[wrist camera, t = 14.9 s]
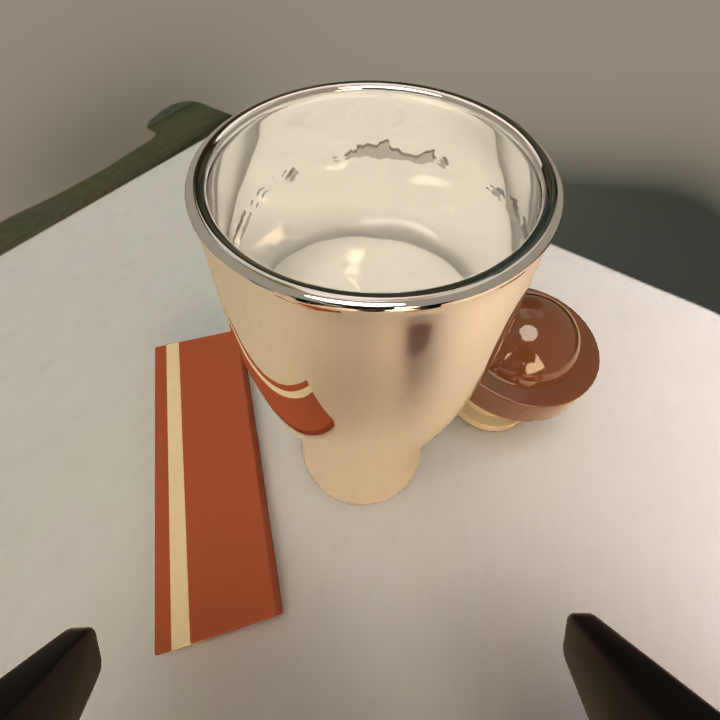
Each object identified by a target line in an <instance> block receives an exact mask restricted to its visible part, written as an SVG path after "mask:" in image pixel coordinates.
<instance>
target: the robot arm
mask: <svg viewBox="0 0 720 720" xmlns="http://www.w3.org/2000/svg"><path fill="white" fill-rule="evenodd" d="M563 651H564V656H565V660H566V663H567V665H568V668H569V670H570V673H571V676H572V678H573V681H574V683H575V686H576V688H577V691H578V693H579V696H580V698H581V701H582V703H583V706H584V708H585V711H586V713H587V716H588V718H589V720H720V712H719V711H718V710H716V709H715V708H714V707H713V706H711V705H710V704H709V703H707V702H706V701H705V700H703V699H702V698H701V697H700V696H698V695H697V694H696V693H694V692H693V691H692V690H691V689H689V688H688V687H687V686H685V685H684V684H683V683H682V682H680V681H679V680H678V679H676V678H675V677H674V676H672V675H671V674H670V673H669V672H667V671H666V670H665V669H663V668H662V667H661V666H660V665H658V664H657V663H656V662H654V661H653V660H652V659H650V658H649V657H648V656H647V655H645V654H644V653H643V652H641V651H640V650H639V649H638V648H636V647H635V646H634V645H632V644H631V643H630V642H629V641H627V640H626V639H625V638H623V637H622V636H621V635H619V634H618V633H617V632H616V631H614V630H613V629H612V628H610V627H609V626H608V625H607V624H605V623H604V622H603V621H601V620H600V619H599V618H597V617H596V616H595V615H593V614H590V613H572V614H570V615H569V616H568V618H567V624H566V631H565V637H564V644H563ZM100 669H101V656H100V651H99V647H98V642H97V637H96V633H95V631H94V630H93V629H92V628H90V627H84V628H71V629H68V630H66V631H64V632H63V633H61V634H60V635H59V636H57V637H56V638H55V639H53V640H52V641H51V642H49V643H48V644H46V645H45V646H44V647H42V648H41V649H40V650H38V651H37V652H36V653H34V654H33V655H32V656H30V657H29V658H28V659H26V660H25V661H23V662H22V663H21V664H19V665H18V666H17V667H15V668H14V669H13V670H11V671H10V672H9V673H7V674H6V675H4V676H3V677H2V678H0V720H79V719H80V717H81V715H82V712H83V710H84V708H85V706H86V703H87V701H88V699H89V697H90V694H91V692H92V690H93V688H94V685H95V683H96V681H97V679H98V676H99V673H100Z"/></svg>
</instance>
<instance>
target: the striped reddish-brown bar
mask: <svg viewBox="0 0 720 720" xmlns="http://www.w3.org/2000/svg"><path fill="white" fill-rule="evenodd" d="M282 612H283V610H282V603H281V597H280V590H279V583H278V576H277V569H276V562H275V555H274V549H273V542H272V535H271V528H270V521H269V514H268V508H267V501H266V494H265V487H264V480H263V473H262V466H261V460H260V453H259V446H258V439H257V432H256V425H255V418H254V412H253V405H252V398H251V391H250V384H249V377H248V370H247V367H246V365H245V363H244V360H243V358H242V356H241V353H240V351H239V349H238V346H237V344H236V342H235V339H234V337H233V335H232V332H226V333H221V334H217V335H212V336H207V337H203V338H198V339H193V340H188V341H184V342H175V343H171V344H167V345H165V346H160V347H156V348H155V655H160V654H163V653H166V652H169V651H174V650H177V649H180V648H183V647H186V646H189V645H192V644H195V643H198V642H200V641H203V640H205V639H208V638H211V637H214V636H217V635H220V634H223V633H226V632H229V631H232V630H235V629H238V628H241V627H244V626H247V625H250V624H253V623H256V622H259V621H262V620H265V619H268V618H271V617H274V616H277V615H280V614H282Z"/></svg>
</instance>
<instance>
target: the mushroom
mask: <svg viewBox="0 0 720 720" xmlns="http://www.w3.org/2000/svg"><path fill="white" fill-rule="evenodd" d="M599 362H600V361H599V351H598V346H597V343H596V341H595V338H594V336H593V334H592V332H591V330H590V329H589V327H588V326H587V325H586V323H585V322H584V321H583V320H582V319H581V317H580V316H579V315H578V314H577V313H576V312H574V311H573V310H572V309H571V308H570V307H568V306H567V305H566V304H564V303H563V302H561V301H559V300H558V299H556V298H554V297H552V296H550V295H548V294H545V293H543V292H540V291H537V290H534V289H530V288H528V291H527V293H526V296H525V298H524V300H523V303H522V305H521V307H520V309H519V312H518V314H517V316H516V318H515V320H514V322H513V325H512V327H511V329H510V331H509V333H508V336H507V338H506V340H505V342H504V344H503V346H502V348H501V349H500V351H499V353H498V355H497V357H496V359H495V361H494V362H493V364H492V366H491V368H490V370H489V372H488V374H487V375H486V377H485V379H484V380H483V382H482V383H481V384H480V386H479V387H478V389H477V390H476V392H475V393H474V394H473V396H472V397H471V399H470V400H469V402H468V403H467V404H466V406H465V407H464V408H463V410H462V411H461V412H460V413H459V414H458V415H459V416H460V417H461V418H462V419H463V420H465V421H466V422H467V423H469V424H471V425H472V426H474V427H477V428H479V429H483V430H488V431H502V430H506V429H509V428H511V427H513V426H515V425H516V424H517V423H518V422H520V421H539V420H544V419H548V418H551V417H553V416H556V415H558V414H560V413H561V412H563V411H564V410H566V409H567V408H568V407H569V406H570V405H571V404H573V403H574V402H575V401H576V400H577V399H579V398H580V397H581V396H582V395H583V394H584V393H586V392H587V391H588V390H589V388H590V387H591V386H592V384H593V383H594V381H595V379H596V377H597V373H598V370H599Z"/></svg>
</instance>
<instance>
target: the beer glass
mask: <svg viewBox="0 0 720 720" xmlns="http://www.w3.org/2000/svg"><path fill="white" fill-rule="evenodd" d="M185 201H186V207H187V212H188V215H189V218H190V221H191V223H192V226H193V228H194V230H195V231H196V233H197V235H198V237H199V239H200V242H201V244H202V247H203V250H204V253H205V256H206V259H207V262H208V265H209V268H210V271H211V274H212V277H213V280H214V284H215V287H216V290H217V293H218V296H219V299H220V302H221V304H222V307H223V310H224V313H225V316H226V319H227V322H228V324H229V327H230V330H231V332H232V335H233V337H234V339H235V342H236V344H237V346H238V349H239V351H240V353H241V356H242V358H243V360H244V363H245V365H246V367H247V369H248V371H249V373H250V374H251V376H252V378H253V380H254V381H255V383H256V385H257V387H258V388H259V390H260V392H261V394H262V395H263V397H264V399H265V400H266V402H267V403H268V405H269V406H270V407H271V408H272V410H273V411H274V412H275V413H276V414H277V415H278V417H279V418H280V419H281V420H282V421H283V422H284V424H285V425H286V426H287V427H288V428H289V429H290V430H291V431H292V432H293V433H294V434H295V435H296V436H297V437H299V438H300V439H301V440H302V441H303V443H302V448H303V456H304V460H305V464H306V466H307V469H308V471H309V473H310V475H311V476H312V478H313V479H314V481H315V482H316V483H317V484H318V485H319V487H320V488H322V489H323V490H324V491H325V492H326V493H328V494H329V495H331V496H332V497H334V498H336V499H338V500H340V501H343V502H347V503H351V504H359V505H366V504H374V503H378V502H382V501H384V500H387V499H389V498H391V497H393V496H394V495H396V494H397V493H399V492H400V491H401V490H402V489H403V488H404V487H405V486H406V485H407V484H408V483H409V482H410V481H411V479H412V478H413V476H414V474H415V472H416V470H417V468H418V465H419V462H420V458H421V452H422V446H424V445H425V444H426V443H428V442H429V441H430V440H432V439H433V438H434V437H436V436H437V435H438V434H439V433H440V432H441V431H442V430H443V429H444V428H445V427H446V426H447V425H448V424H449V423H450V422H451V421H452V420H453V419H454V418H455V417H456V416H457V415H458V414H459V413H460V412H461V411H462V410H463V408H464V407H465V406H466V404H467V403H468V402H469V400H470V399H471V397H472V396H473V394H474V393H475V392H476V390H477V389H478V387H479V386H480V384H481V383H482V382H483V380H484V379H485V377H486V375H487V374H488V372H489V370H490V368H491V366H492V364H493V362H494V361H495V359H496V357H497V355H498V353H499V351H500V349H501V348H502V346H503V344H504V342H505V340H506V338H507V336H508V333H509V331H510V329H511V327H512V325H513V322H514V320H515V318H516V316H517V314H518V312H519V309H520V307H521V305H522V303H523V300H524V298H525V296H526V293H527V291H528V288H529V286H530V284H531V281H532V279H533V277H534V274H535V272H536V270H537V268H538V265H539V263H540V261H541V259H542V256H543V254H544V252H545V250H546V249H547V248H548V246H549V245H550V243H551V242H552V240H553V238H554V237H555V235H556V232H557V230H558V228H559V225H560V222H561V218H562V214H563V208H564V207H563V206H564V193H563V186H562V182H561V178H560V175H559V172H558V170H557V167H556V165H555V163H554V162H553V160H552V158H551V156H550V155H549V153H548V152H547V151H546V149H545V148H544V147H543V146H542V144H541V143H540V142H539V141H538V140H537V139H536V138H535V137H534V136H533V135H532V134H531V133H530V132H529V131H527V130H526V129H525V128H524V127H522V126H521V125H520V124H518V123H517V122H516V121H514V120H513V119H511V118H510V117H508V116H506V115H505V114H503V113H501V112H500V111H498V110H496V109H494V108H492V107H490V106H488V105H486V104H484V103H482V102H479V101H477V100H474V99H472V98H469V97H467V96H464V95H461V94H457V93H454V92H451V91H447V90H444V89H440V88H436V87H431V86H426V85H420V84H415V83H407V82H398V81H385V80H352V81H338V82H329V83H322V84H316V85H311V86H306V87H301V88H297V89H293V90H290V91H286V92H283V93H280V94H277V95H274V96H272V97H269V98H266V99H264V100H262V101H259V102H257V103H255V104H253V105H251V106H249V107H247V108H245V109H244V110H242V111H240V112H238V113H237V114H235V115H233V116H232V117H230V118H229V119H228V120H226V121H225V122H224V123H222V124H221V125H220V126H219V127H217V128H216V129H215V130H214V131H213V132H212V133H211V134H210V135H209V136H208V137H207V138H206V140H205V141H204V142H203V143H202V145H201V146H200V147H199V149H198V151H197V152H196V154H195V156H194V158H193V160H192V162H191V164H190V167H189V170H188V174H187V178H186V183H185Z"/></svg>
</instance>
